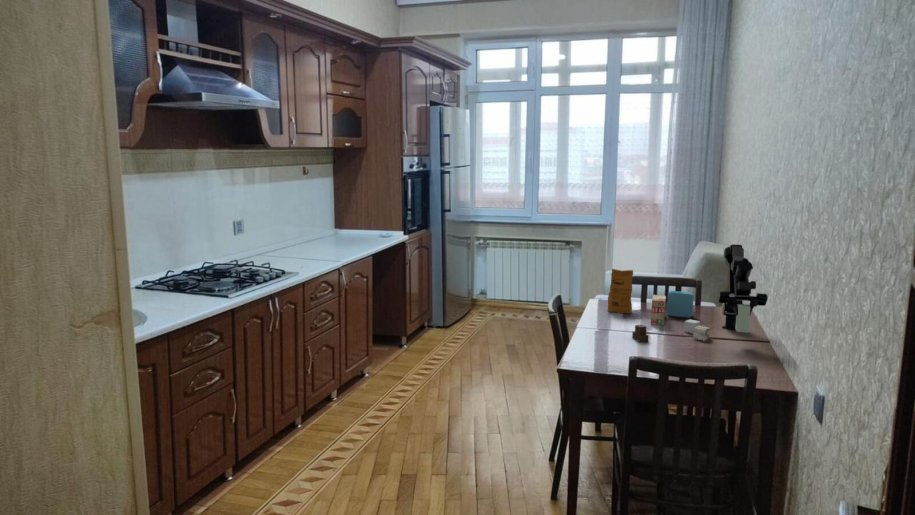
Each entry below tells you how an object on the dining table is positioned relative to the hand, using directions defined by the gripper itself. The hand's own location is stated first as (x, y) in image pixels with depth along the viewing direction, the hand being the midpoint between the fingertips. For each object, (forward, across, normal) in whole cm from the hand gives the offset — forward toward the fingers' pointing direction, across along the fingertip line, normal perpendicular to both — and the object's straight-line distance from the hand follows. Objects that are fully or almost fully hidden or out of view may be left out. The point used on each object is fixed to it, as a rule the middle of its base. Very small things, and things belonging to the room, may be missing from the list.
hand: (743, 315), depth 269 cm
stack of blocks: (-16, -33, +36) cm, 51 cm away
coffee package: (-25, -52, +45) cm, 73 cm away
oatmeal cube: (+4, -15, +15) cm, 22 cm away
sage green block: (+4, 0, +6) cm, 7 cm away
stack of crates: (+11, -40, +9) cm, 43 cm away
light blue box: (-25, -22, +44) cm, 55 cm away
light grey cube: (-3, -18, +23) cm, 29 cm away
